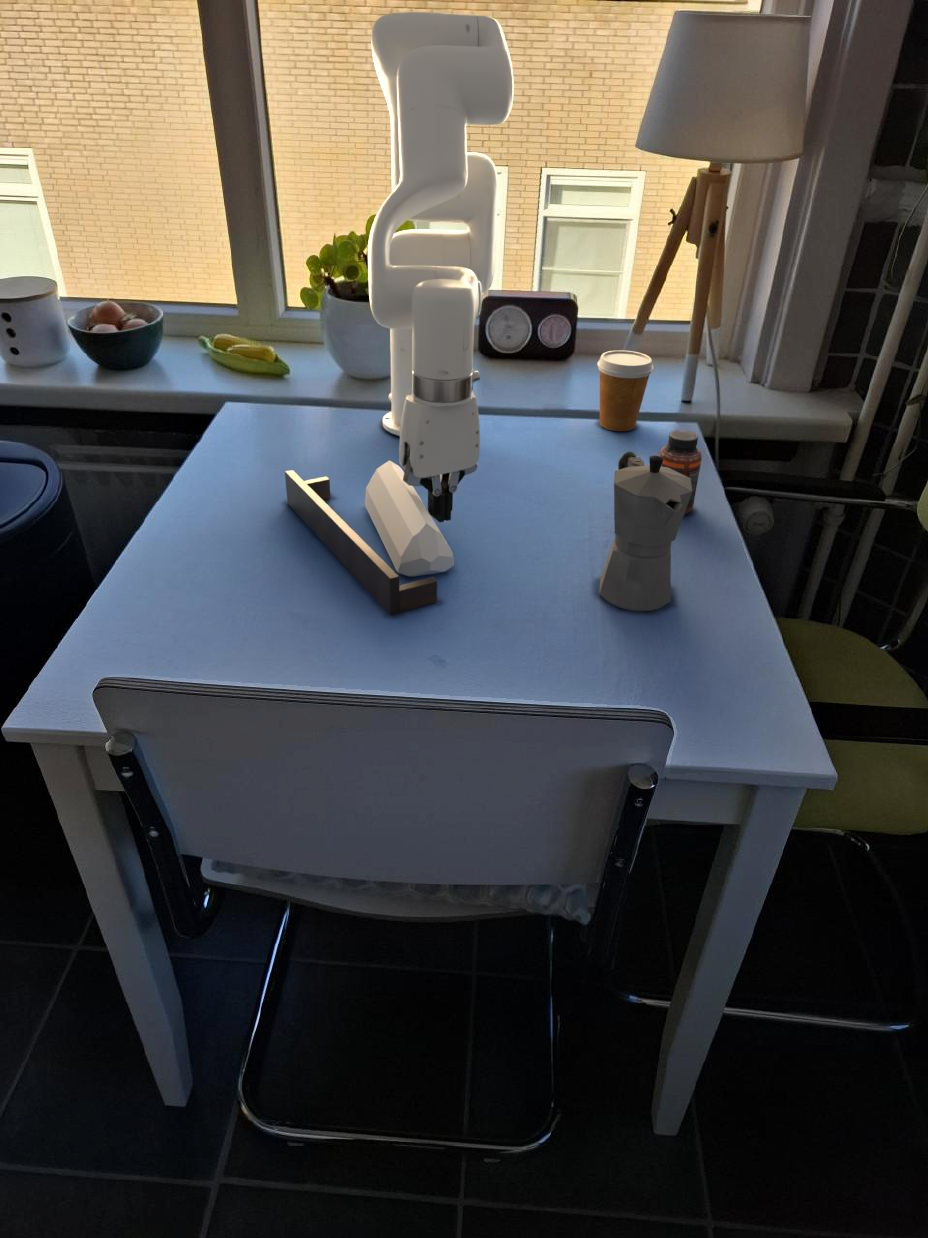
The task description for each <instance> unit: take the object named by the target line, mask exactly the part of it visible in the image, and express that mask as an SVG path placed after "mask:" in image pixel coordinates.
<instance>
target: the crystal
mask: <svg viewBox="0 0 928 1238" xmlns="http://www.w3.org/2000/svg"><path fill="white" fill-rule="evenodd" d="M404 472H405V471H404V470H403V469H402V466H401V465H400V466H399V465H398V464H396V463H395V462H393V461H391V460H388V461H386V462H384V463H383V464H382V465H380V466H379V467H377V468H376V469H375V470H374V473H373V474H372V477H371V478H370V480H369V482H368V484H367V485H366V487H365V495H364V506H365V508H366V511H367V513H368V515H369V516H370V519H371V521H372V524H373V525H374V527H375V529H376V532H377V534H378V535H379V537H380V540H381V541H382V544H383V546H384V548H385V550H386V552H387V554H388V556H389V558H390V560H391V563H392V564H393V567H394V569H395V571H396V574H401V575H404V576H407V577H419V576H428V575H433V574H435V575H436V574H440V573H445V572H447V571H448V570H450V569H451V568H453V567H454V566H455V558H454V557H455V556H454V554H453V550H452V548H451V547H450V545H449V543H448V542H447V540H446V539H445V537H444V535H443V534H442V532H441V530H440V528H439V527H438V525H437V524H436V522H435V519H434V518H433V517H432V516H431V515H430V514H429V512H428V508H427V507H426V505H425V504H424V502H423V501H422V499H421V497H420V496H419V494H418V492H417V491H416V489H415V487H414V486H410V485H408V484H406V483H405V482H404V481H403V477H404Z"/></svg>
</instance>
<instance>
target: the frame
mask: <svg viewBox="0 0 928 1238" xmlns="http://www.w3.org/2000/svg"><path fill="white" fill-rule="evenodd" d="M284 478H285V489H286V490H285V491H286V500H287V501H286V502H287V504H288V506H289V507H290V508H291V509H292V510H293V512H295V513H296V514H297V515H298V516H299V518H301V520H302V521H303V522H304V523H305V524H306V525H307V526H308V528H310V529H311V530H312V532H313V533H314V534H315V535H316V536H317V537H318V538H319V539H320V540H321V542H322V543H324V544H325V546H326V547H327V548H328V549H329V550H330V551H331V552H332V553H333V554H334V556H335V557H337V559H338V560H339V561H340V562H341V563H342V564H343V565H344V566H345V567H346V569H347V570H348V571H349V572H350V573H351V574H352V575H353V576H354V577H355V578H356V579H357V581H358V582H359V583H360V584H361V585H362V586H363V587H364V588H365V589H366V590H367V591H368V592H369V594H370V595H371V596H372V597H373V598H374V599H375V601H376V602H377V603H379V605H380V606H381V607H382V608H384V610H385V611H386V612H387V613H388V614H389V615H390V616H394V615H397V614H401V613H404V612H407V611H412V610H414V609H418V608H421V607H425V606H428V605H431V604H432V605H433V604H436V603H438V580H437V579H436V578H435V577H434V576H429V577H427V578H423V579H420V580H415V581H411V582H408V583H405V584H400V576H399V574H398V573H397V572H395V570H393V568H392V567H390V565H389V564H387V562H385V561H384V559H383V558H381V556H380V555H379V554H377V552H376V551H374V550H373V548H371V546H370V545H368V543H366V541H364V540H363V539H362V538H361V536H360V535H358V533H356V531H355V530H354V529H352V528H351V526H349V524H348V523H346V522H345V520H344V519H342V518H341V516H339V514H337V512H335V510H333V508H331V506H330V505H328V503H326V501H325V500H328V499H331V483H330V481H331V479H330V478H329V477H328V476H322V477H316V478H311V479H307V480H304V479H302V477H300V475H298V474H297V472H295V470H293V469H291V470H286V471H284Z"/></svg>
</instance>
